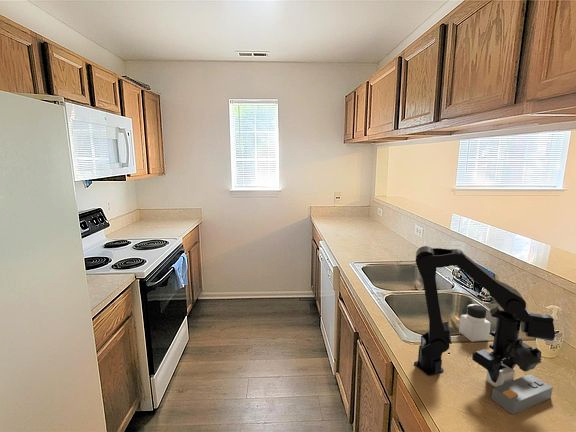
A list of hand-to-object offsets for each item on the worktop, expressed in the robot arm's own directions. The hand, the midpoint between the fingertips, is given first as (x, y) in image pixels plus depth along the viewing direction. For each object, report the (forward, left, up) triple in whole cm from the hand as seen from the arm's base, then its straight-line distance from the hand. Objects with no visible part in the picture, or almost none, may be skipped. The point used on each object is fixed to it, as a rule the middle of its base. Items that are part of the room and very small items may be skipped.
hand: (499, 379), depth 98 cm
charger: (+1, 0, -1) cm, 2 cm away
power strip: (+6, 0, -1) cm, 7 cm away
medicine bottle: (-22, +16, -2) cm, 27 cm away
